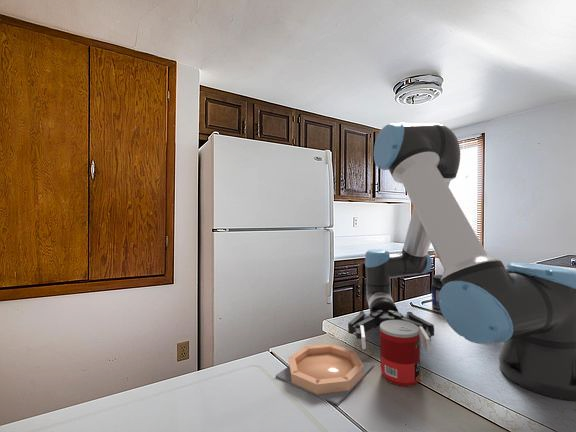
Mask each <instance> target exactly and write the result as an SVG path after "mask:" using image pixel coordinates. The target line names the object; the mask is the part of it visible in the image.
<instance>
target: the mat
mask: <svg viewBox="0 0 576 432" xmlns="http://www.w3.org/2000/svg"><path fill="white" fill-rule="evenodd" d="M361 362H362V363H363V365H364V376H363V377H362V378H361V379H360V380H359V381H358V382H357V383H356V384H355V385H354V386H353V387H352V388H351V390H350V391H341V392H332V393H323V394H316V393H314V392H311V391H309V390H307V389H305V388H303V387H300V386H298V385H296V384H294V383H292V381H291V375H290V369H289V365H288V366H287V367H285V368H284V369H282V370H281V371H280V372H278V373H277V374H275V378H277V379H279V380H282V381H283V382H286V383H289V384H290V385H292V386H294V387H297V388H298V389H301V390H303V391H305V392H308V393H310V394H311V395H315V397H316V396H317V397H318V398H320V399H323V400H325V401H327V402H329V403H331V404H334V405H336V406H339V405H340V403H341V402H342V401H344V399H345V398H346V397H347V396H348V395H349V394H350V393H351V392H352V390H354V388H355V387H356V386H357V385H358V384H359V383H360V382H361V381H362V380H363V379H364V378H365V376H367V374H368V373H370V371H371V370H372V369H373V368H374V364H371V363H368V362H367V361H362V360H361Z"/></svg>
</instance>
